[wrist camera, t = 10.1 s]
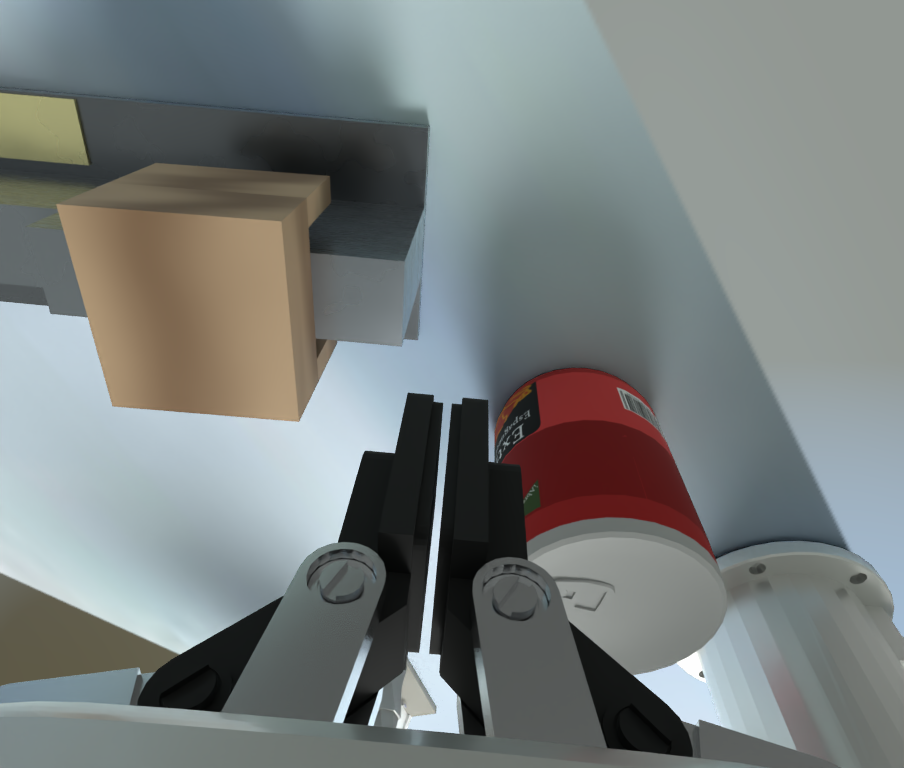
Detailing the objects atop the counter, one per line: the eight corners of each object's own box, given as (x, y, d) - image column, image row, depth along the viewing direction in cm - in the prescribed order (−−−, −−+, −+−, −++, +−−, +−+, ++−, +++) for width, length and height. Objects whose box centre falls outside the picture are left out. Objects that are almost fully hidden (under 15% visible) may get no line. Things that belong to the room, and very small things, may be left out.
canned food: (496, 359, 28) (498, 526, 19) (668, 364, 28) (757, 536, 18) (491, 484, 32) (491, 674, 23) (641, 490, 32) (704, 685, 22)
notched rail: (429, 125, 23) (408, 161, 17) (418, 334, 28) (399, 419, 22) (-170, 71, 23) (-398, 88, 17) (-81, 287, 28) (-236, 359, 22)
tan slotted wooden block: (329, 176, 20) (281, 221, 16) (337, 342, 24) (299, 421, 19) (155, 162, 20) (56, 204, 16) (187, 331, 24) (112, 406, 19)
